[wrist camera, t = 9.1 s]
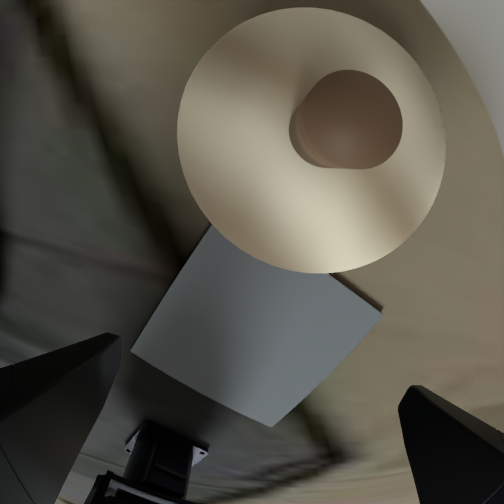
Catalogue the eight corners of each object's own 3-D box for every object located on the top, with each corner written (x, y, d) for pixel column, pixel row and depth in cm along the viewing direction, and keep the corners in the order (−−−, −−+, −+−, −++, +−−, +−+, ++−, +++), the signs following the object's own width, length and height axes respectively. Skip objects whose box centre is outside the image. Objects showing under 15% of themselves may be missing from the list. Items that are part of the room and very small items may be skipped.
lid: (341, 311, 15) (373, 370, 10) (132, 169, 13) (76, 174, 8) (468, 127, 12) (534, 123, 7) (283, -21, 10) (294, -83, 6)
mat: (271, 424, 23) (271, 427, 23) (131, 348, 21) (130, 351, 21) (381, 312, 20) (383, 314, 20) (227, 201, 18) (227, 202, 18)
